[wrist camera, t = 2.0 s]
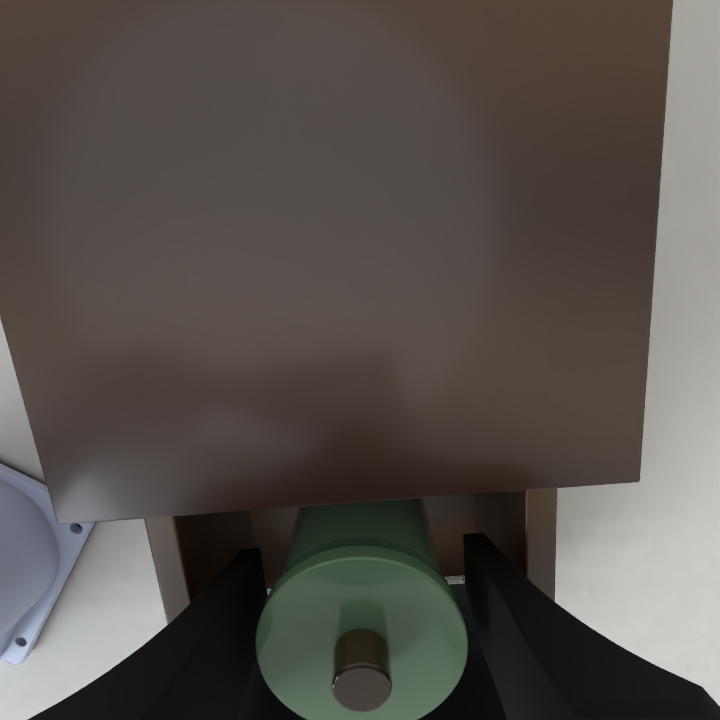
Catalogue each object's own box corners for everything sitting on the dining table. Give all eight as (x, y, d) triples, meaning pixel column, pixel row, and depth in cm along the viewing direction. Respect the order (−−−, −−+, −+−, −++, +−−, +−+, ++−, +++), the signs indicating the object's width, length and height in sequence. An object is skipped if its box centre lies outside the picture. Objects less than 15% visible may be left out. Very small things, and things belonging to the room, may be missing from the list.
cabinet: (509, 378, 18) (640, 482, 9) (197, 402, 18) (56, 525, 10) (507, -3, 15) (699, -350, 6) (132, 35, 15) (-158, -248, 7)
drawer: (504, 674, 20) (574, 877, 14) (253, 690, 20) (202, 896, 14) (501, 327, 16) (595, 373, 10) (194, 353, 17) (84, 414, 10)
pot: (385, 583, 18) (400, 809, 10) (271, 525, 17) (204, 722, 10) (454, 482, 17) (527, 656, 9) (336, 417, 16) (315, 549, 9)
